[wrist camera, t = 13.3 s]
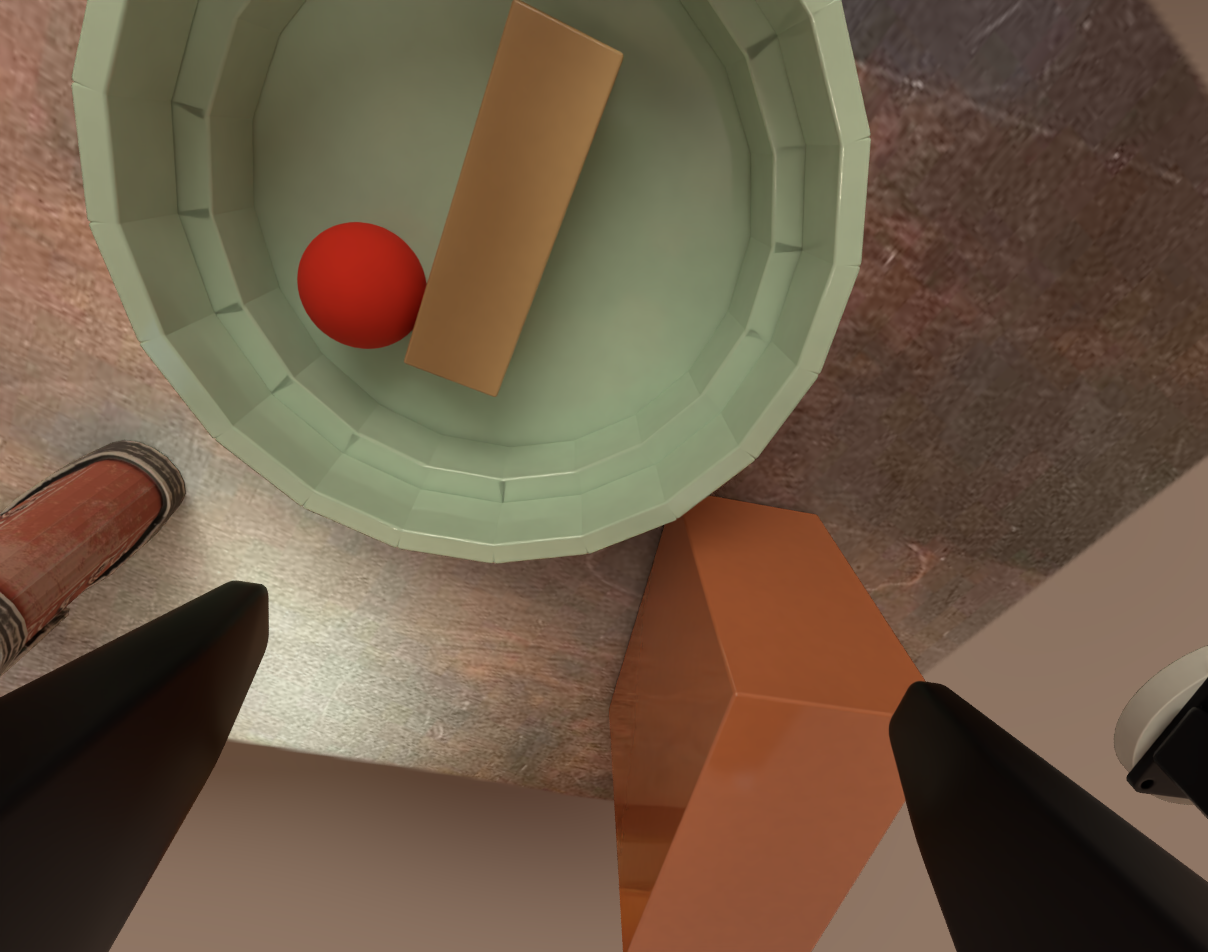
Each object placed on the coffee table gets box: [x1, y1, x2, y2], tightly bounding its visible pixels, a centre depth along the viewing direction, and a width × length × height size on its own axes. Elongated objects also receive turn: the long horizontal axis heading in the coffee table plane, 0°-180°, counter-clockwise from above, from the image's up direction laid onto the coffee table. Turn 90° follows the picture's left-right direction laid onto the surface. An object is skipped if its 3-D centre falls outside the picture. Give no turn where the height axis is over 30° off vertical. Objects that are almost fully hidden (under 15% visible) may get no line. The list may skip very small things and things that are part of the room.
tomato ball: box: [297, 222, 427, 349], centre depth 16 cm, size 3×3×3 cm
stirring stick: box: [404, 0, 624, 397], centre depth 16 cm, size 2×8×3 cm, turn 157°
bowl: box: [71, 0, 871, 564], centre depth 15 cm, size 15×15×5 cm
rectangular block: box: [609, 495, 926, 952], centre depth 20 cm, size 5×10×9 cm, turn 168°
